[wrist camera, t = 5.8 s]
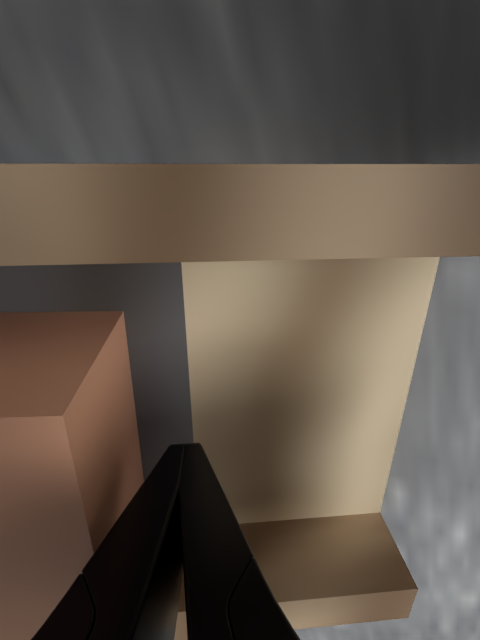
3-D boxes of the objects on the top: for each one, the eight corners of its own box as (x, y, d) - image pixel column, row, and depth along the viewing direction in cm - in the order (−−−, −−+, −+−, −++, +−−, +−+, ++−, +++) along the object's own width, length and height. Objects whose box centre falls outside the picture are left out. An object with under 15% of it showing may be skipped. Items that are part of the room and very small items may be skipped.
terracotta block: (123, 311, 9) (63, 415, 5) (144, 485, 11) (113, 641, 7) (-93, 313, 8) (-331, 429, 5) (-22, 494, 11) (-142, 664, 7)
